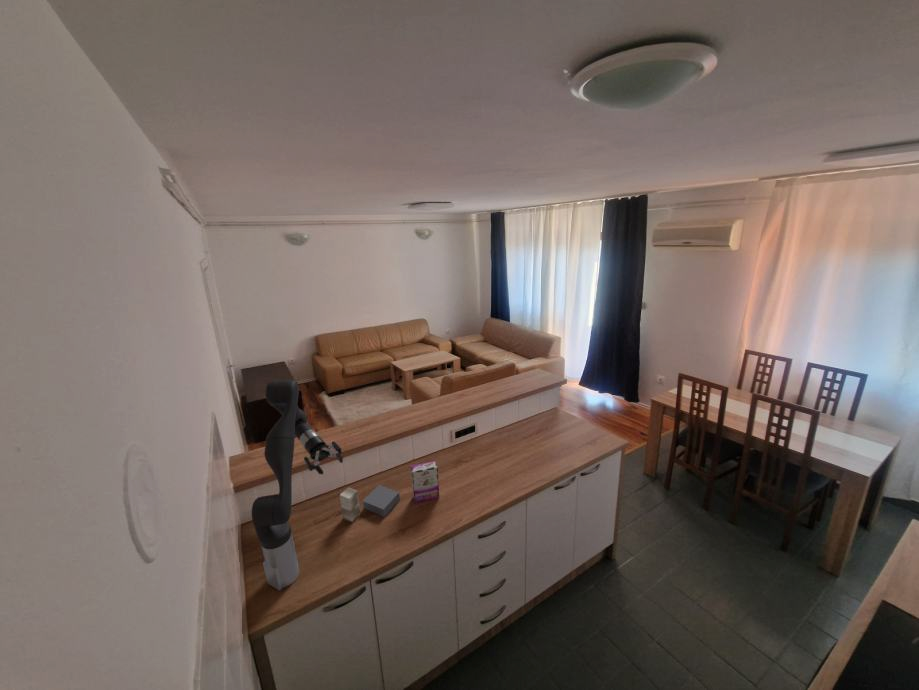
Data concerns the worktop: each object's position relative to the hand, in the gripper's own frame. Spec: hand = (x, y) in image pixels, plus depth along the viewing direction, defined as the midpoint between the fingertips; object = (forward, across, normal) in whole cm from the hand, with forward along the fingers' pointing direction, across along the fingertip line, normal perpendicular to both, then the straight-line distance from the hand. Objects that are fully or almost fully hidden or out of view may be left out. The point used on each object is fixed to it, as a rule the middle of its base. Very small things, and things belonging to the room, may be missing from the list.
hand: (332, 467), depth 148 cm
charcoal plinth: (+17, +12, +19) cm, 28 cm away
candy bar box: (+28, +28, +17) cm, 43 cm away
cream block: (+14, 0, +18) cm, 23 cm away
